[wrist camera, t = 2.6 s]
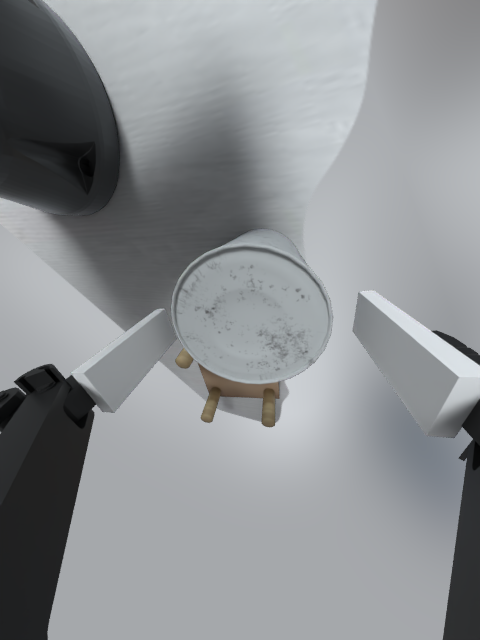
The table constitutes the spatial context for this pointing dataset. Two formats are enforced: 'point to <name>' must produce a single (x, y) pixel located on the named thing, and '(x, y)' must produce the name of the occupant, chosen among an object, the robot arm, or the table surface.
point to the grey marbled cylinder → (252, 310)
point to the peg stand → (233, 391)
